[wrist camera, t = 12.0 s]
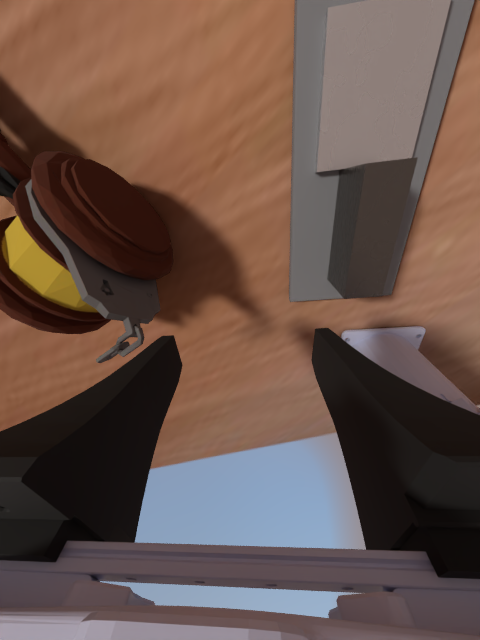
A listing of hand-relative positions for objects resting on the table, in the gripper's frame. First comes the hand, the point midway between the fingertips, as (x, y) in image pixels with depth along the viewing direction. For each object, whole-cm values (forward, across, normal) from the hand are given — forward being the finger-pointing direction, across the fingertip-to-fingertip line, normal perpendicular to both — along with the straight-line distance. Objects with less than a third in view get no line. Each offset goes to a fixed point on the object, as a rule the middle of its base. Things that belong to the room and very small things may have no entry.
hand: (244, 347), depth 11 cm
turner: (+10, -8, -7) cm, 14 cm away
